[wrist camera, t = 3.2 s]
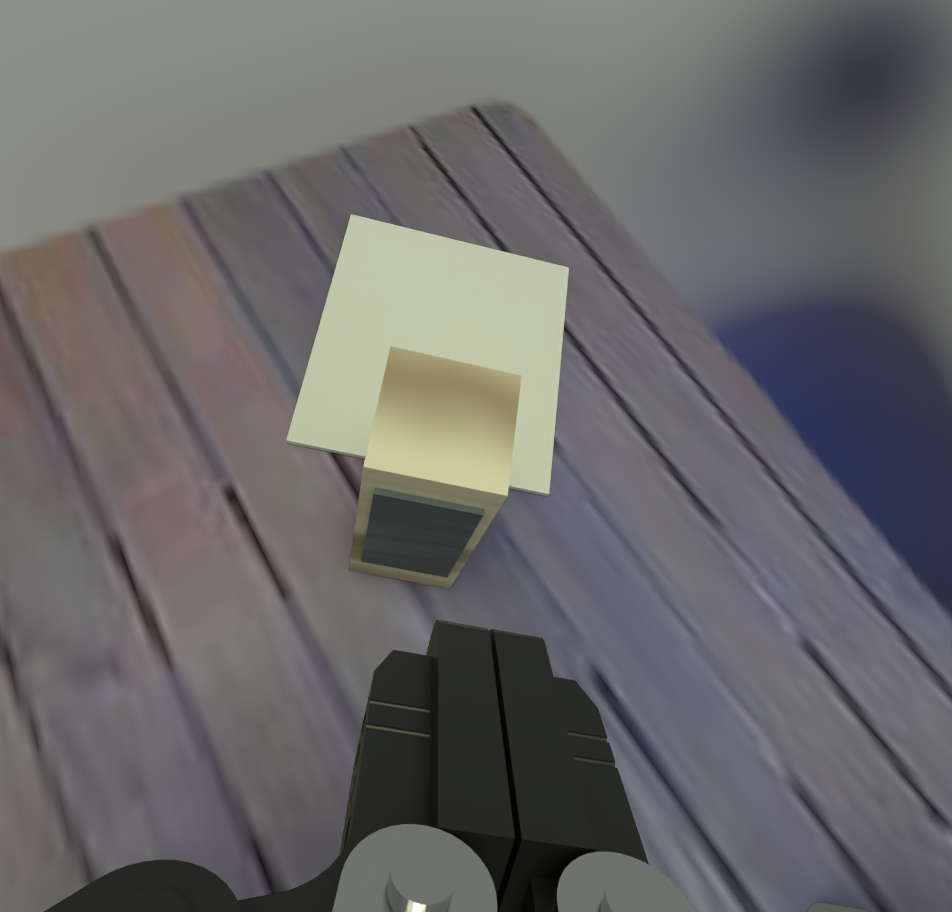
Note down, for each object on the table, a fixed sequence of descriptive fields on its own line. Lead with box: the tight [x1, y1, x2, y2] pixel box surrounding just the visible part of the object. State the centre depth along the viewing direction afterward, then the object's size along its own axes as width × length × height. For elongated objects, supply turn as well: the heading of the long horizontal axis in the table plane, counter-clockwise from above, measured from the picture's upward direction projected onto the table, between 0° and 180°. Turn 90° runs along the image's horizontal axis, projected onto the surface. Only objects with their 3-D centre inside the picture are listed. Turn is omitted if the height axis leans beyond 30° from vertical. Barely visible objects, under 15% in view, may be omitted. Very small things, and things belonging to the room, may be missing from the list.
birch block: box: [349, 346, 522, 589], centre depth 30 cm, size 5×5×12 cm
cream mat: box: [286, 214, 569, 496], centre depth 41 cm, size 16×14×1 cm
